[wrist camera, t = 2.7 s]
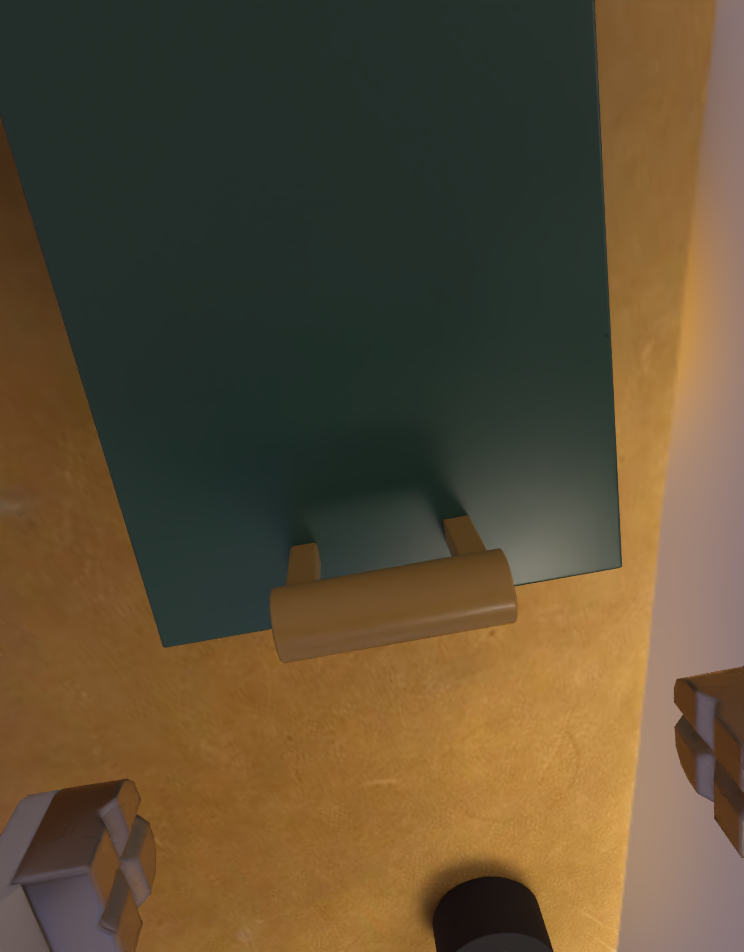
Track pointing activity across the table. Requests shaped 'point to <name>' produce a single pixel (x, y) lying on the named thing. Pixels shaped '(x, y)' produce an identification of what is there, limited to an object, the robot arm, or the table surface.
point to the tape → (490, 918)
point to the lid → (330, 300)
